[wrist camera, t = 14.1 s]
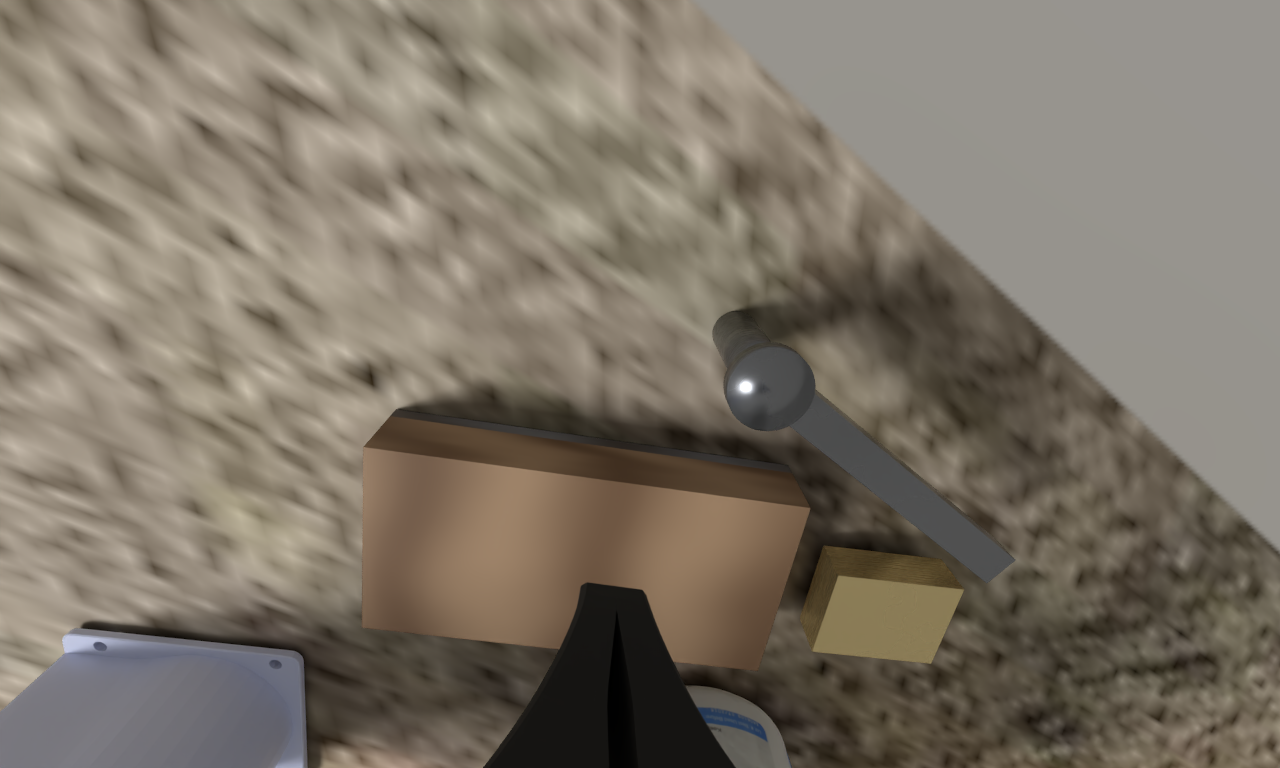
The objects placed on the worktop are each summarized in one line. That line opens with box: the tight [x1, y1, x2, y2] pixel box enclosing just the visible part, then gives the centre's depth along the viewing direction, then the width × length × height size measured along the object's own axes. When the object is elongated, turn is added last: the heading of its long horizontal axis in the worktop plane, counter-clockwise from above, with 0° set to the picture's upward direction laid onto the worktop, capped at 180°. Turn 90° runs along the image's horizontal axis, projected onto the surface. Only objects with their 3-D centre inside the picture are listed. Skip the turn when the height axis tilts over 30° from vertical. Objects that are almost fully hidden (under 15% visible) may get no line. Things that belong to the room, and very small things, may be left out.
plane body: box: [362, 409, 811, 671], centre depth 23 cm, size 15×8×3 cm, turn 80°
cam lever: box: [713, 311, 1015, 583], centre depth 20 cm, size 2×12×6 cm, turn 50°
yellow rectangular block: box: [800, 546, 964, 664], centre depth 24 cm, size 5×4×2 cm
